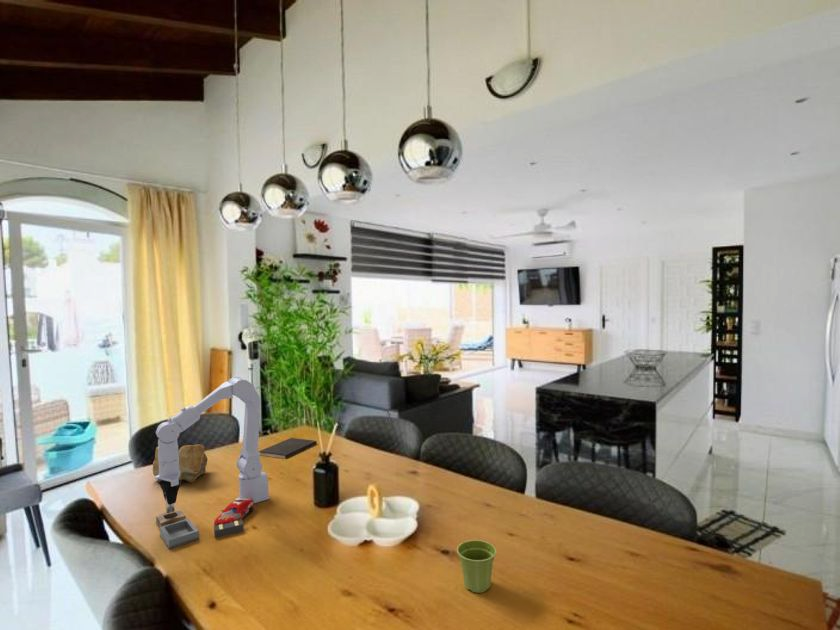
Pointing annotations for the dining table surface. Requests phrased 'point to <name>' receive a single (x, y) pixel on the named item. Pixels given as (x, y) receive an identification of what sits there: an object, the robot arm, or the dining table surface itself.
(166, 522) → the pin holder
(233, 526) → the wheel stop
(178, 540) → the tray
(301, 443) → the hardcover book
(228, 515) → the race car
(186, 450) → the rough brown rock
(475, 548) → the plant pot
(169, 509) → the pin
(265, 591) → the dining table surface
